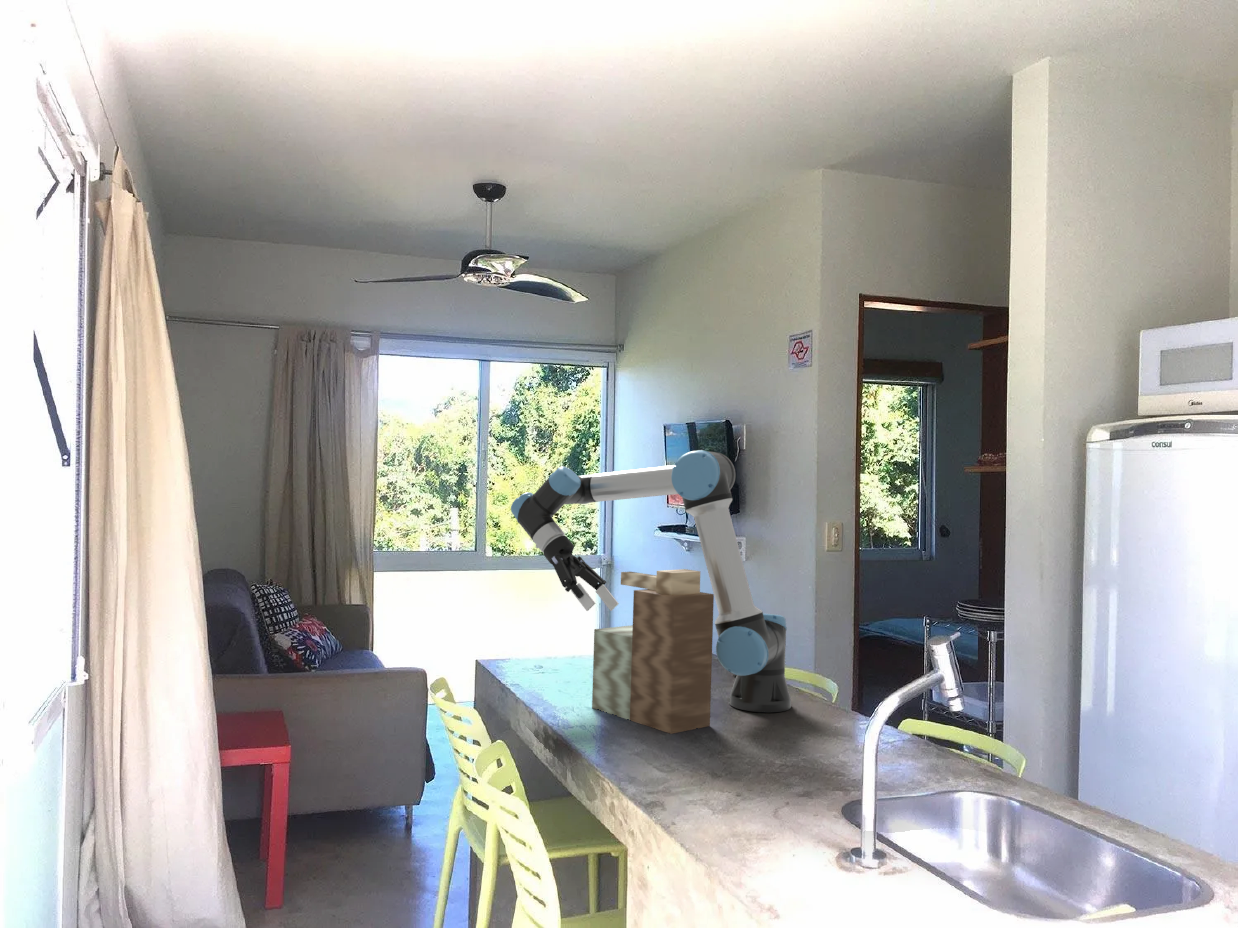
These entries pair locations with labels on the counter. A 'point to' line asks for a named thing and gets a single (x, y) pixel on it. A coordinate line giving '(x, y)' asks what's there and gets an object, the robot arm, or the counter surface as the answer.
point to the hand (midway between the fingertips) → (603, 607)
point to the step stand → (658, 662)
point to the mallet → (665, 581)
